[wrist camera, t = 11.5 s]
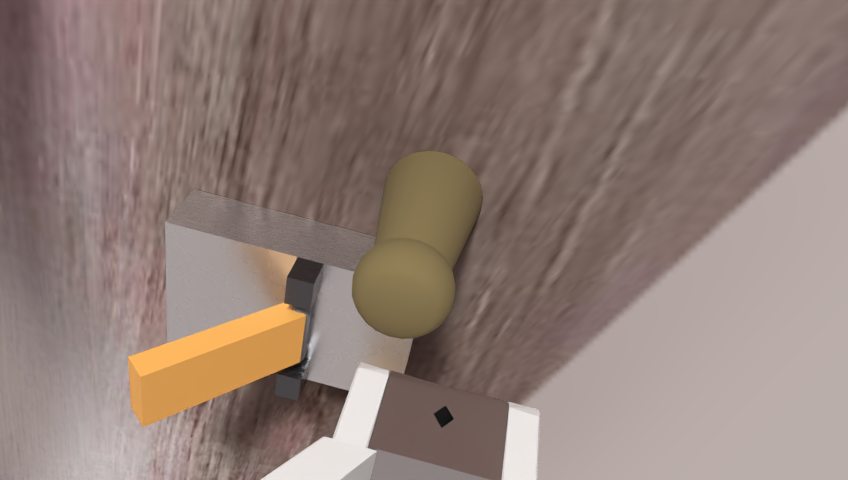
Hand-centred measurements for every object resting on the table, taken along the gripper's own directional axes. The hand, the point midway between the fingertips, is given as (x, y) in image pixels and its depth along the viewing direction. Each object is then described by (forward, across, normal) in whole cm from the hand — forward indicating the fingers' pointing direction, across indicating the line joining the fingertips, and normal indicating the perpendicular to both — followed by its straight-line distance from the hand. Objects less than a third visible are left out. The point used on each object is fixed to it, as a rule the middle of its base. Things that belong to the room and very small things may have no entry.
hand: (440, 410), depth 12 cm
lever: (+24, +8, +23) cm, 34 cm away
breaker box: (+29, +9, +23) cm, 38 cm away
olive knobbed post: (+29, +2, +14) cm, 32 cm away
